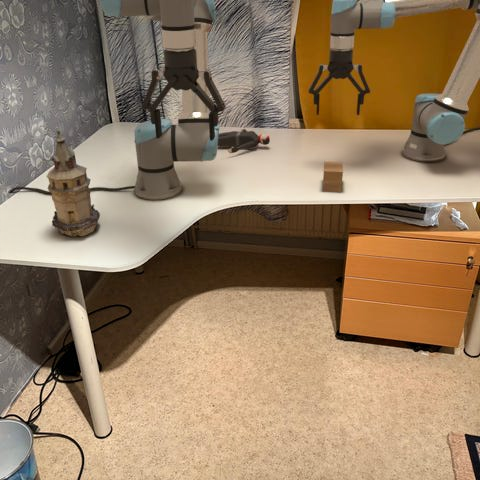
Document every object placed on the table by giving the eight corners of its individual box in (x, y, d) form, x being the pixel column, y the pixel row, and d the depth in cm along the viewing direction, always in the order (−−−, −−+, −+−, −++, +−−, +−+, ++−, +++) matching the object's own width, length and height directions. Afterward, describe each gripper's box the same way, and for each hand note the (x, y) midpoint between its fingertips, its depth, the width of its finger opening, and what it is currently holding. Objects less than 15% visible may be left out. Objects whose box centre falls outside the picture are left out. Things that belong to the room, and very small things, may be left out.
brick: (341, 192, 175) (342, 171, 172) (322, 191, 176) (323, 170, 173) (341, 181, 183) (342, 162, 179) (323, 180, 184) (324, 161, 180)
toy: (204, 122, 226) (274, 122, 220) (205, 136, 229) (274, 137, 223) (186, 142, 204) (264, 143, 198) (188, 157, 207) (264, 159, 201)
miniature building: (80, 214, 164) (63, 117, 149) (111, 225, 157) (96, 125, 142) (44, 231, 154) (22, 130, 140) (75, 244, 147) (55, 139, 133)
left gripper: (236, 46, 124) (237, 134, 135) (133, 44, 128) (142, 131, 138) (230, 52, 118) (232, 144, 128) (122, 50, 121) (132, 140, 132)
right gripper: (379, 46, 175) (373, 110, 185) (302, 47, 178) (301, 110, 188) (382, 50, 168) (376, 117, 179) (302, 51, 171) (300, 116, 182)
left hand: (185, 137), depth 133 cm, fingers open, 13 cm apart
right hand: (337, 113), depth 183 cm, fingers open, 13 cm apart
